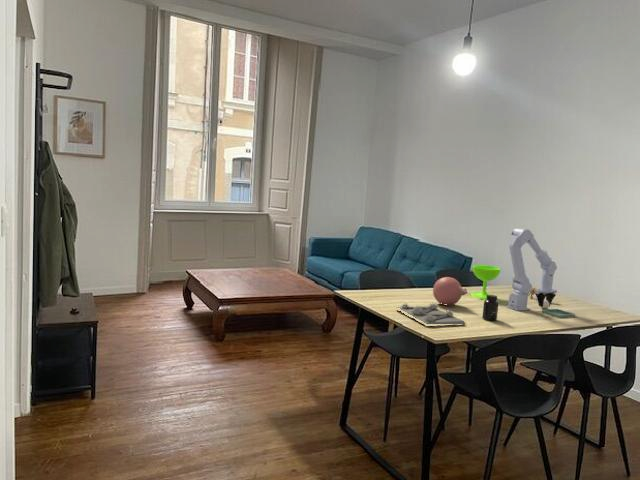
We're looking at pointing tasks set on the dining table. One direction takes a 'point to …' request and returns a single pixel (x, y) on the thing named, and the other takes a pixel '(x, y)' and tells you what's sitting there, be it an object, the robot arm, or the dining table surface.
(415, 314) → the grey bumpy flat slab
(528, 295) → the lion figurine
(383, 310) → the dining table surface
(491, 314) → the supplement bottle
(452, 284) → the balloon
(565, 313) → the tray
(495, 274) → the wineglass
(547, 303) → the ball
